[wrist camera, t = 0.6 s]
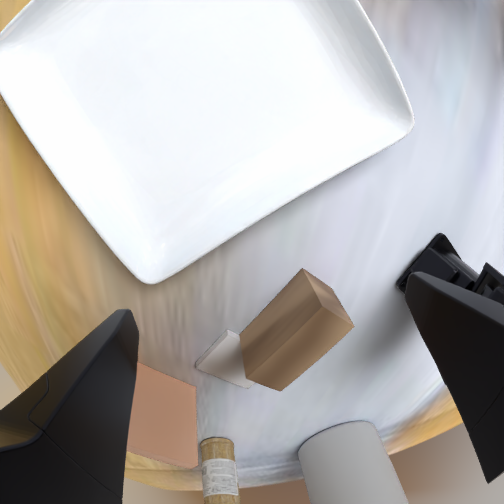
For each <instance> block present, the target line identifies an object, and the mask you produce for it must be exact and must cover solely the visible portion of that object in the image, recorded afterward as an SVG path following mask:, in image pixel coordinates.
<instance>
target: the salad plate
mask: <svg viewBox="0 0 504 504" xmlns="http://www.w3.org/2000/svg"><path fill="white" fill-rule="evenodd" d="M0 94H1V96H2V97H3V99H4V101H5V102H6V104H7V106H8V107H9V109H10V111H11V112H12V114H13V116H14V117H15V119H16V120H17V122H18V123H19V125H20V127H21V128H22V130H23V131H24V133H25V134H26V135H27V137H28V138H29V140H30V142H31V143H32V144H33V146H34V147H35V149H36V150H37V152H38V153H39V155H40V156H41V157H42V159H43V160H44V162H45V163H46V165H47V166H48V167H49V169H50V170H51V172H52V173H53V174H54V176H55V177H56V179H57V180H58V181H59V183H60V184H61V185H62V187H63V188H64V189H65V191H66V192H67V194H68V195H69V196H70V198H71V199H72V200H73V202H74V203H75V204H76V206H77V207H78V208H79V209H80V211H81V212H82V214H83V215H84V216H85V218H86V219H87V220H88V222H89V223H90V224H91V225H92V227H93V228H94V229H95V230H96V232H97V233H98V234H99V235H100V237H101V238H102V239H103V240H104V242H105V243H106V244H107V245H108V247H109V248H110V249H111V250H112V251H113V253H114V254H115V255H116V256H117V257H118V259H119V260H120V261H121V262H122V263H123V264H124V265H125V266H126V268H127V269H128V270H129V271H130V272H131V273H132V274H133V275H134V276H135V277H136V278H137V279H139V280H140V281H141V282H143V283H146V284H157V283H159V282H162V281H164V280H165V279H167V278H169V277H171V276H172V275H174V274H176V273H178V272H179V271H181V270H182V269H184V268H186V267H187V266H189V265H190V264H192V263H193V262H195V261H196V260H198V259H200V258H201V257H203V256H204V255H206V254H207V253H209V252H210V251H212V250H213V249H215V248H216V247H218V246H220V245H221V244H223V243H224V242H226V241H227V240H229V239H231V238H232V237H234V236H235V235H237V234H239V233H240V232H242V231H243V230H245V229H247V228H248V227H250V226H252V225H253V224H255V223H256V222H258V221H260V220H261V219H263V218H264V217H266V216H268V215H269V214H271V213H273V212H274V211H276V210H278V209H279V208H281V207H282V206H284V205H286V204H287V203H289V202H291V201H292V200H294V199H296V198H297V197H299V196H301V195H302V194H304V193H306V192H308V191H309V190H311V189H313V188H315V187H316V186H318V185H320V184H322V183H324V182H326V181H327V180H329V179H331V178H333V177H335V176H336V175H338V174H340V173H342V172H343V171H345V170H347V169H349V168H351V167H353V166H355V165H357V164H358V163H360V162H362V161H364V160H366V159H368V158H369V157H371V156H373V155H375V154H377V153H379V152H381V151H383V150H384V149H386V148H388V147H390V146H392V145H393V144H395V143H397V142H398V141H400V140H401V139H403V138H404V137H405V136H406V135H407V134H408V133H410V131H411V130H412V129H413V127H414V122H415V118H414V114H413V110H412V107H411V104H410V101H409V99H408V96H407V94H406V91H405V89H404V86H403V84H402V82H401V79H400V77H399V75H398V73H397V70H396V68H395V66H394V64H393V62H392V60H391V58H390V56H389V54H388V52H387V50H386V48H385V47H384V45H383V43H382V41H381V39H380V37H379V35H378V34H377V32H376V30H375V28H374V26H373V25H372V23H371V21H370V20H369V18H368V16H367V15H366V13H365V11H364V10H363V8H362V6H361V5H360V3H359V1H358V0H31V1H30V2H29V3H28V4H27V5H26V6H25V7H24V8H23V9H22V10H21V11H20V12H19V13H18V14H17V15H16V16H15V17H14V18H13V19H12V20H11V21H10V22H9V24H8V25H7V26H6V27H5V28H4V29H3V30H2V31H1V33H0Z"/></svg>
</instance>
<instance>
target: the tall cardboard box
mask: <svg viewBox="0 0 504 504" xmlns="http://www.w3.org/2000/svg"><path fill="white" fill-rule="evenodd" d="M353 327H355V326H354V325H353V323H352V321H351V320H350V318H349V316H348V315H347V313H346V311H345V310H344V308H343V306H342V305H341V303H340V301H339V300H338V298H337V296H336V295H335V293H334V291H333V290H332V288H331V287H329V286H328V285H326V284H325V283H323V282H322V281H320V280H319V279H318V278H316V277H315V276H313V275H312V274H310V273H309V272H307V271H306V270H305V269H303V268H302V269H301V270H300V271H299V272H298V273H297V274H296V275H295V276H294V277H293V279H292V280H291V281H290V282H289V283H288V284H287V285H286V286H285V287H284V288H283V289H282V290H281V292H280V293H279V294H278V295H277V296H276V297H275V298H274V299H273V300H272V301H271V302H270V303H269V304H268V305H267V306H266V308H265V309H264V310H263V311H262V312H261V313H260V314H259V315H258V316H257V317H256V318H255V319H254V320H253V321H252V322H251V323H250V324H249V325H248V326H247V327H246V328H245V329H244V331H243V332H242V333H241V334H240V335H238V334H236V333H234V332H232V331H230V330H228V329H227V330H226V331H225V332H224V333H223V334H222V335H221V336H220V337H219V339H218V340H217V341H216V342H215V343H214V344H213V345H212V346H211V347H210V348H209V349H208V350H207V351H206V352H205V353H204V354H203V355H202V356H201V357H200V359H199V360H198V361H197V362H196V369H199V370H201V371H203V372H206V373H208V374H211V375H213V376H216V377H218V378H220V379H223V380H226V381H228V382H231V383H233V384H236V385H239V386H241V387H244V388H247V389H249V388H250V387H251V386H252V385H253V384H255V383H258V384H261V385H264V386H266V387H269V388H272V389H275V390H277V391H280V392H281V391H282V390H283V389H284V388H285V387H287V386H288V385H289V384H290V383H292V382H293V381H294V380H295V379H296V378H298V377H299V376H300V375H301V374H302V373H304V372H305V371H306V370H307V369H308V368H310V367H311V366H312V365H313V364H314V363H315V362H316V361H318V360H319V359H320V358H321V357H322V356H323V355H324V354H325V353H327V352H328V351H329V350H330V349H331V348H332V347H333V346H334V345H335V344H336V343H338V342H339V341H340V340H341V339H342V338H343V337H344V336H345V335H346V334H347V333H348V332H349V331H350V330H351V329H352V328H353Z"/></svg>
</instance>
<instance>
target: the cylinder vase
mask: <svg viewBox="0 0 504 504" xmlns="http://www.w3.org/2000/svg"><path fill="white" fill-rule="evenodd" d="M298 457H299V461H300V465H301V469H302V472H303V476H304V480H305V484H306V487H307V491H308V495H309V499H310V503H311V504H409V503H408V501H407V498H406V496H405V493H404V491H403V489H402V486H401V484H400V482H399V479H398V477H397V475H396V472H395V470H394V468H393V465H392V463H391V461H390V458H389V456H388V454H387V451H386V449H385V447H384V445H383V442H382V440H381V438H380V436H379V434H378V431H377V429H376V427H375V426H374V425H373V424H372V423H370V422H366V421H354V422H348V423H344V424H340V425H337V426H334V427H331V428H329V429H326V430H324V431H322V432H320V433H318V434H316V435H314V436H313V437H311V438H310V439H308V440H307V441H306V442H305V443H304V444H303V445H302V446H301V447H300V449H299V452H298Z"/></svg>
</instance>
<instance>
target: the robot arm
mask: <svg viewBox="0 0 504 504" xmlns="http://www.w3.org/2000/svg"><path fill="white" fill-rule="evenodd" d="M440 239H441V240H440ZM402 283H403V284H402ZM401 284H402V285H401ZM397 287H398V288H399V289H400V290H401V291H402V292H403V293H404V294H405V300H406V303H407V305H408V307H409V309H410V312H411V314H412V316H413V318H414V321H415V323H416V325H417V328H418V330H419V332H420V334H421V336H422V338H423V340H424V342H425V344H426V346H427V348H428V350H429V351H430V353H431V355H432V357H433V359H434V361H435V363H436V365H437V367H438V369H439V372H440V374H441V376H442V379H443V381H444V383H445V385H446V386H447V387H448V389H449V391H450V393H451V395H452V397H453V400H454V402H455V404H456V406H457V408H458V411H459V413H460V415H461V417H462V420H463V422H464V424H465V427H466V429H467V431H468V433H469V436H470V439H471V441H472V444H473V446H474V449H475V452H476V454H477V457H478V459H479V462H480V465H481V468H482V470H483V473H484V476H485V479H486V481H487V483H488V484H489V483H490V482H492V481H493V480H494V479H496V478H497V477H499V476H500V475H501V474H503V473H504V275H502V274H501V273H500V272H499V271H497V270H496V269H495V268H493V267H492V266H491V265H489V264H488V263H487V262H486V263H485V265H484V266H483V270H482V272H481V273H480V275H479V274H478V273H476V272H475V271H474V270H473V269H472V268H471V267H469V266H468V265H467V264H466V263H464V262H463V261H462V260H461V258H460V257H459V255H458V254H457V252H456V250H455V249H454V247H453V246H452V244H451V243H450V241H449V240H448V239H447V237H446V236H445V235H444V234H443V233H439V234H438V235H437V236H436V237H435V239H434V240H433V241H432V242H431V243H430V245H429V246H428V247H427V248H426V249H425V251H424V252H423V253H422V254H421V255H420V257H419V258H418V259H417V260H416V261H415V262H414V263H413V265H412V266H411V267H410V268H409V269H408V270H407V271H406V272H405V274H404V275H403V276H402V277H401V278H400V279H399V280H398V282H397ZM138 344H139V331H138V328H137V325H136V322H135V319H134V317H133V314H132V312H131V310H130V309H119V310H117V311H115V312H114V313H113V314H112V315H111V316H109V317H108V318H107V319H106V320H105V321H104V322H102V323H101V324H100V325H99V326H98V327H97V328H95V329H94V330H93V331H92V332H91V333H90V334H88V335H87V336H86V337H85V338H84V339H83V340H82V341H80V342H79V343H78V344H77V345H76V346H75V347H74V348H72V349H71V350H70V351H69V352H68V353H67V354H66V355H64V356H63V357H62V358H61V359H60V360H59V361H58V362H57V363H55V364H54V365H53V366H52V367H51V368H50V369H49V370H48V371H47V373H44V374H43V375H42V376H41V377H40V378H39V379H38V380H37V381H36V382H34V383H33V384H32V385H31V386H30V387H29V388H28V389H26V390H25V391H24V392H23V393H21V394H20V395H19V396H18V397H17V398H15V399H14V400H13V401H12V402H10V403H9V404H8V405H6V406H5V407H4V408H3V409H2V410H0V504H122V497H123V496H122V495H123V482H124V470H125V460H126V450H127V441H128V433H129V425H130V417H131V410H132V403H133V397H134V390H135V384H136V376H137V359H138Z"/></svg>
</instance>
